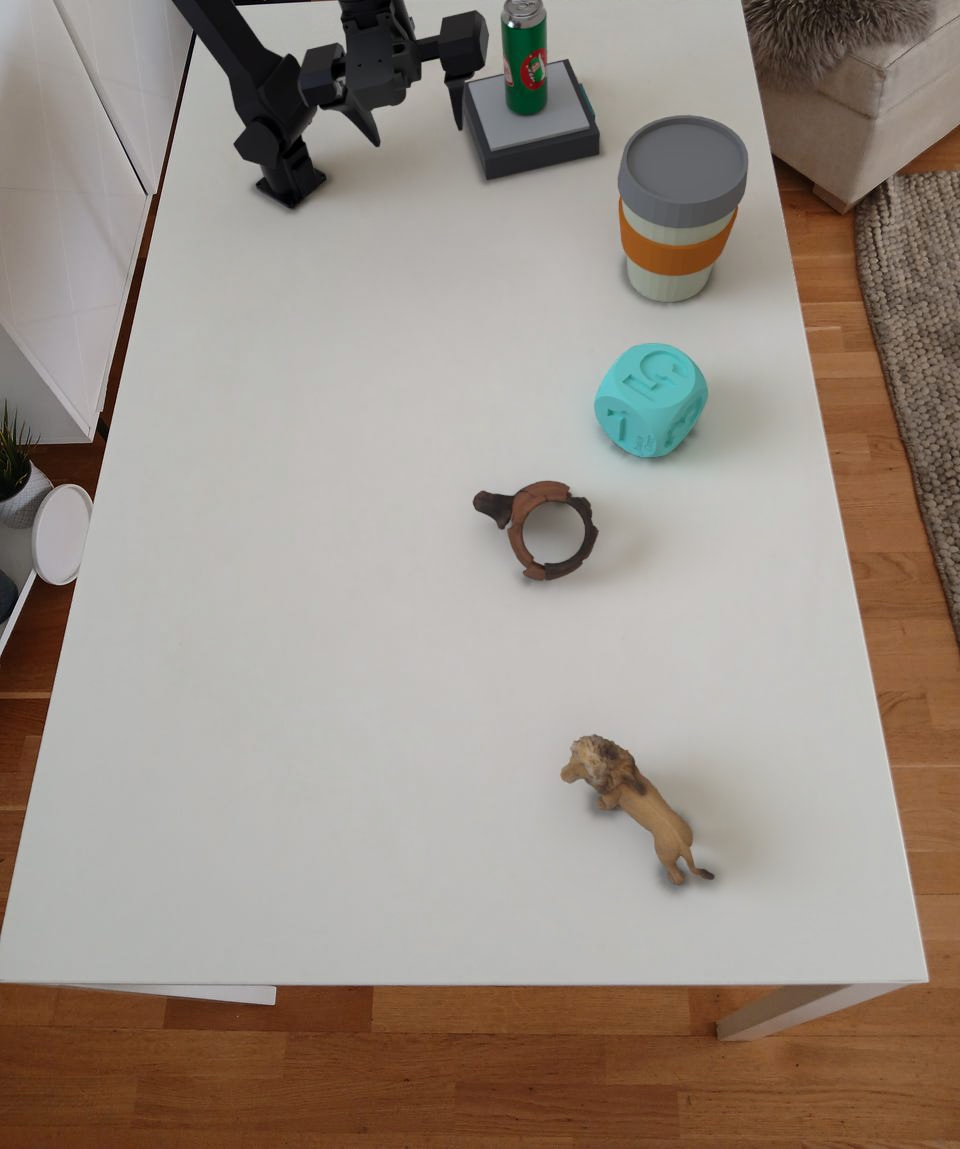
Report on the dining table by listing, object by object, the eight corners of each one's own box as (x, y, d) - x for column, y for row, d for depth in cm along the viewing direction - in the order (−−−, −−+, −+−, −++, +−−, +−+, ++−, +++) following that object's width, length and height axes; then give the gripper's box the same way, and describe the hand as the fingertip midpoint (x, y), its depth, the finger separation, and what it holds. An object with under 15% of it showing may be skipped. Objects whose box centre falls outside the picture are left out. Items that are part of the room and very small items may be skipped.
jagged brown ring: (597, 495, 90) (614, 494, 82) (572, 587, 91) (587, 595, 83) (480, 463, 89) (486, 459, 81) (455, 556, 90) (459, 562, 82)
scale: (486, 180, 109) (484, 156, 106) (461, 104, 115) (458, 79, 112) (604, 153, 110) (605, 128, 107) (572, 79, 116) (573, 53, 113)
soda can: (507, 90, 111) (501, -10, 100) (548, 89, 110) (547, -11, 99) (504, 118, 109) (498, 20, 98) (546, 118, 108) (545, 19, 97)
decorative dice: (591, 428, 93) (594, 380, 86) (640, 379, 95) (647, 328, 88) (653, 471, 90) (661, 425, 83) (703, 419, 92) (715, 370, 85)
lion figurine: (551, 788, 78) (550, 763, 70) (589, 740, 79) (592, 710, 71) (695, 904, 73) (712, 892, 65) (732, 851, 74) (753, 833, 66)
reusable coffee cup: (748, 264, 101) (778, 149, 87) (678, 334, 97) (697, 226, 84) (658, 212, 105) (673, 95, 91) (587, 277, 102) (592, 166, 88)
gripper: (255, 58, 81) (325, 203, 94) (454, 11, 76) (499, 171, 89) (278, -12, 87) (342, 135, 100) (466, -60, 82) (507, 101, 95)
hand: (419, 136), depth 96 cm, fingers open, 9 cm apart
